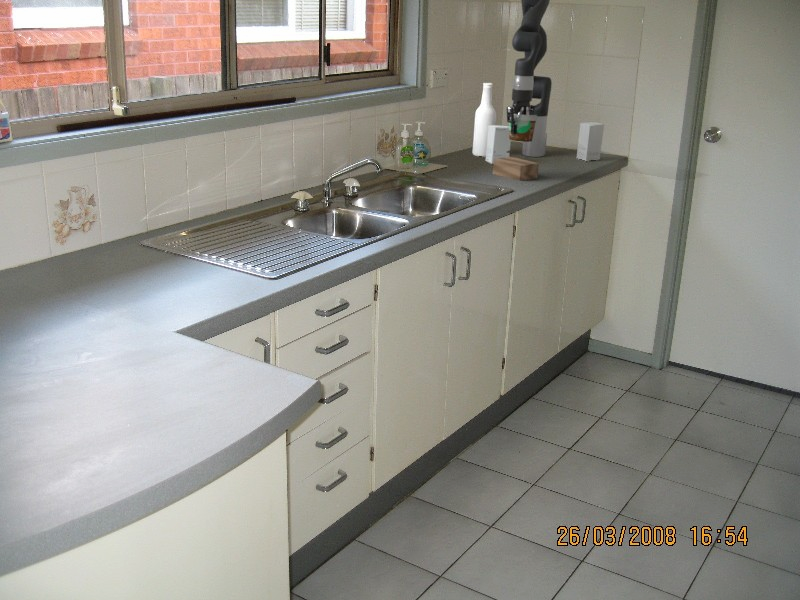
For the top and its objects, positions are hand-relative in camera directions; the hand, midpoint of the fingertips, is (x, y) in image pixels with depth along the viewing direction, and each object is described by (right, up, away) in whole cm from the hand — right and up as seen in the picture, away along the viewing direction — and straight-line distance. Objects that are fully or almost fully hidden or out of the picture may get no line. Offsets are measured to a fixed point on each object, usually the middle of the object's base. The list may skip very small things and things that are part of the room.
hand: (518, 133), depth 331 cm
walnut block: (-1, -15, +6) cm, 17 cm away
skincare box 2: (+36, -3, +44) cm, 57 cm away
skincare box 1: (-5, -6, +30) cm, 31 cm away
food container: (-1, -3, +1) cm, 3 cm away
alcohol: (-10, -1, +43) cm, 44 cm away
